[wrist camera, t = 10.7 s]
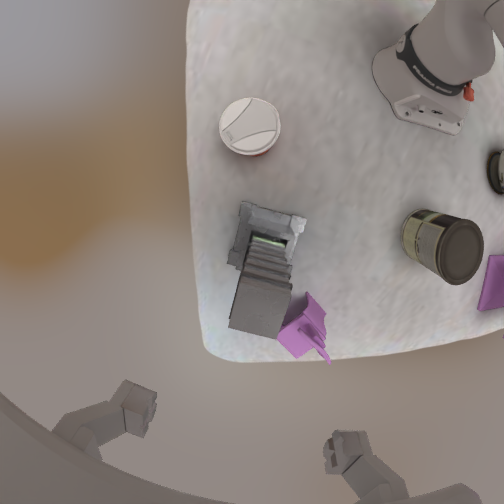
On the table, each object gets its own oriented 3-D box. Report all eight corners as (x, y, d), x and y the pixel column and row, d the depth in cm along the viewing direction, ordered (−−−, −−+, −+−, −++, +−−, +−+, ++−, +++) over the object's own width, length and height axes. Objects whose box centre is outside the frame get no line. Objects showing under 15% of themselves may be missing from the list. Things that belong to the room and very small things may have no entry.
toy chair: (267, 315, 51) (264, 362, 37) (303, 287, 50) (314, 328, 35) (293, 342, 53) (299, 392, 38) (329, 316, 51) (346, 362, 36)
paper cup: (249, 170, 45) (239, 166, 31) (224, 135, 44) (205, 117, 30) (287, 146, 43) (294, 131, 30) (262, 110, 42) (258, 83, 29)
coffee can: (423, 197, 43) (468, 205, 30) (448, 235, 45) (491, 253, 31) (390, 234, 46) (428, 253, 32) (417, 270, 47) (454, 298, 33)
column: (284, 242, 38) (294, 294, 20) (275, 271, 39) (277, 341, 21) (253, 234, 38) (238, 280, 20) (246, 263, 39) (225, 328, 21)
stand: (304, 216, 46) (313, 226, 36) (287, 274, 49) (291, 298, 39) (243, 200, 46) (236, 205, 36) (229, 259, 49) (218, 279, 39)
